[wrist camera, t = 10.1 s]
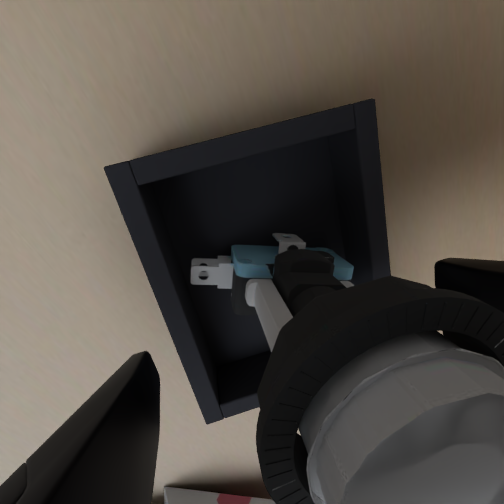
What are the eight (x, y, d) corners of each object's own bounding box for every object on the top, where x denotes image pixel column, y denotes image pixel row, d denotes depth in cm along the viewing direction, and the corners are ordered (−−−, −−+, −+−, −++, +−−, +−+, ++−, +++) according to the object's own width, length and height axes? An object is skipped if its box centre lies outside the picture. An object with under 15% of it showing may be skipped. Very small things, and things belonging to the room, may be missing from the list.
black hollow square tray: (335, 111, 13) (375, 97, 10) (364, 324, 16) (399, 361, 13) (126, 164, 12) (102, 166, 9) (205, 375, 16) (206, 425, 13)
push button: (189, 314, 14) (168, 649, 4) (194, 200, 12) (173, 338, 3) (323, 314, 15) (529, 576, 6) (342, 210, 13) (669, 331, 4)
